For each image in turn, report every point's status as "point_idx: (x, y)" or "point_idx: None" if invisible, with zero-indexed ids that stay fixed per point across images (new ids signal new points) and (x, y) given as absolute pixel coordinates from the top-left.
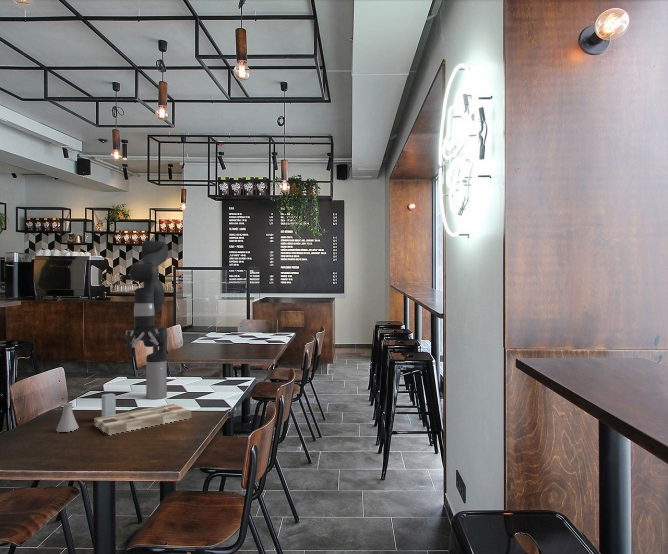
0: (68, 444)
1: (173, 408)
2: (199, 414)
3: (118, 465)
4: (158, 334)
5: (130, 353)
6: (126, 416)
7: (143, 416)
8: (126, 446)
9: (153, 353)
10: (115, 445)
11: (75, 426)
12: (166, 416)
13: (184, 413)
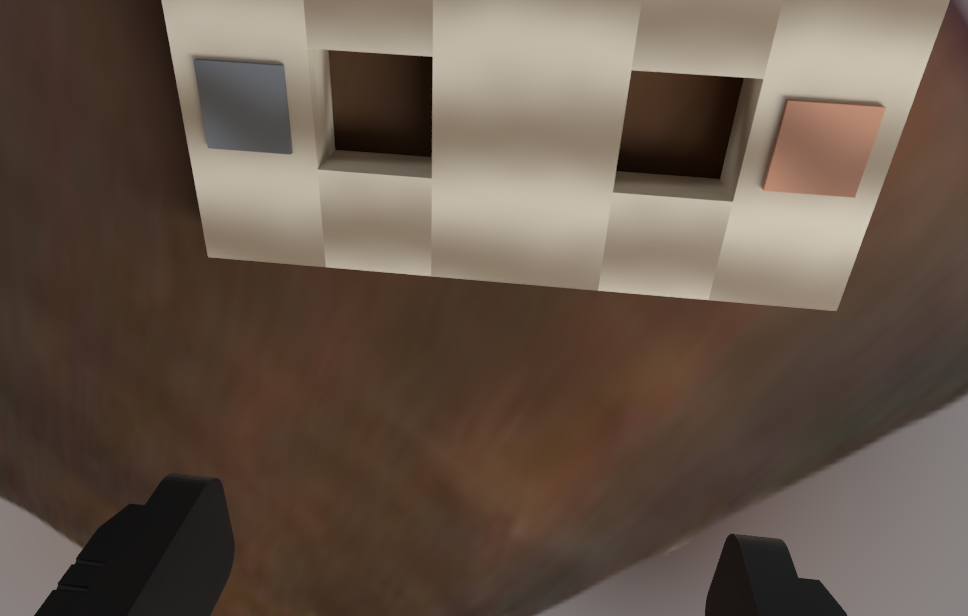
0: (7, 218)
1: (800, 155)
2: (945, 231)
3: None
4: None
5: (98, 564)
6: (399, 52)
7: (495, 179)
8: (271, 446)
9: (726, 574)
10: (230, 401)
11: None
12: (624, 290)
13: (773, 300)
